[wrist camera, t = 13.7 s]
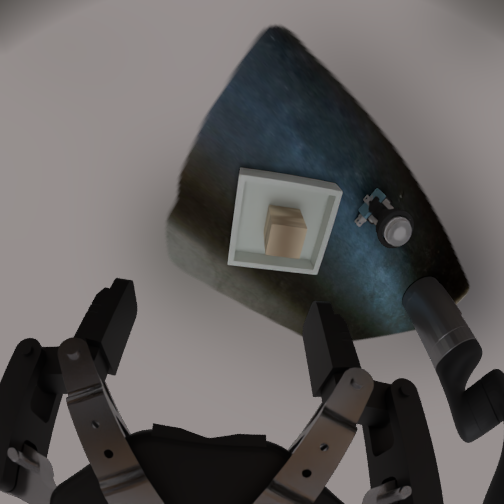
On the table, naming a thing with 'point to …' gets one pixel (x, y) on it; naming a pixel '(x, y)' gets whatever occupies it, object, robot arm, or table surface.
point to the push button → (386, 219)
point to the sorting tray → (286, 195)
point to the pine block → (284, 232)
